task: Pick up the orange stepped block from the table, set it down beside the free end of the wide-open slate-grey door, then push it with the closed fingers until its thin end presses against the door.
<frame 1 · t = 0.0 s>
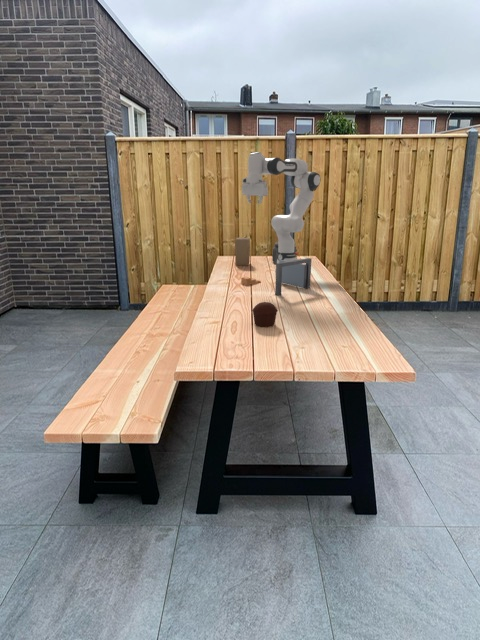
hand: (254, 203, 286), 48 cm above the table, tool pointing down, fingers open, 8 cm apart
door frame: (293, 291, 266), on the table
orange stepped block: (250, 283, 286), on the table
wooden block: (242, 265, 345), on the table
muffin: (264, 324, 206), on the table
door: (292, 273, 277), point 7 cm above the table, hinge at -90.0°
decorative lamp: (284, 263, 353), on the table
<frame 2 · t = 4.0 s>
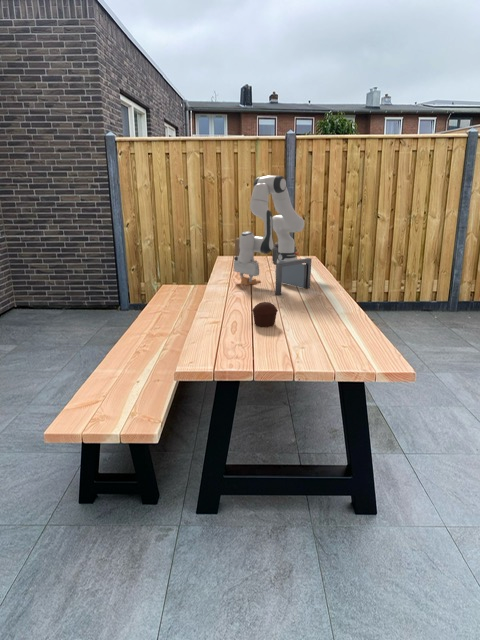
hand: (246, 280, 283), 2 cm above the table, tool pointing down, fingers closed on orange stepped block, 5 cm apart
orange stepped block: (251, 283, 286), on the table, touching gripper
everything else where it was.
when the fingers open (3 cm above the table, at t = 10.0 s): orange stepped block drops 2 cm, on the table.
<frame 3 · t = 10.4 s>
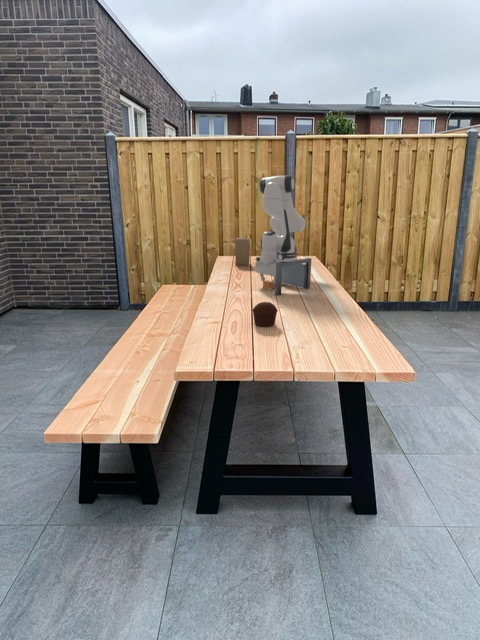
hand: (268, 282, 273), 3 cm above the table, tool pointing down, fingers open, 8 cm apart
orange stepped block: (272, 286, 277), on the table
everything else where it was.
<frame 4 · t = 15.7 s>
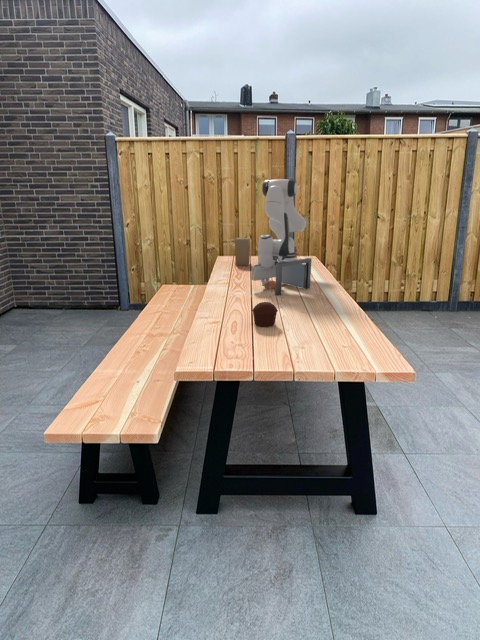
hand: (264, 285, 272), 2 cm above the table, tool pointing down, fingers closed
orange stepped block: (274, 286, 277), on the table, touching gripper
everything else where it was.
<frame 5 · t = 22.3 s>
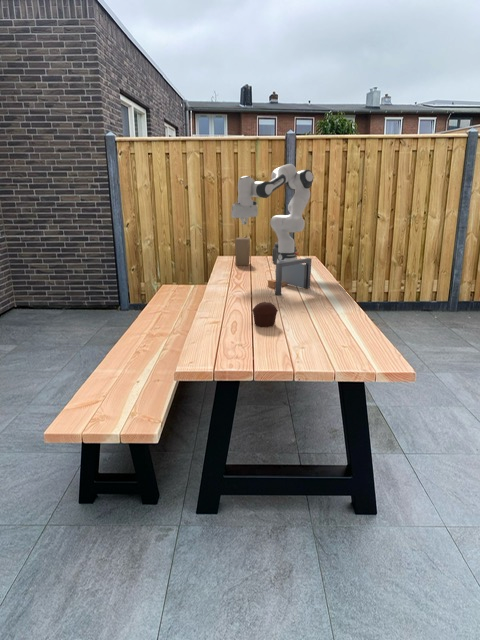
hand: (244, 224, 295), 34 cm above the table, tool pointing down, fingers closed
orange stepped block: (277, 286, 279), on the table
everything else where it was.
at the end: orange stepped block inside the target area (0.4 cm from its centre), on the table; door at -90° (first picture: -90°); orange stepped block tilted 0° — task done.
